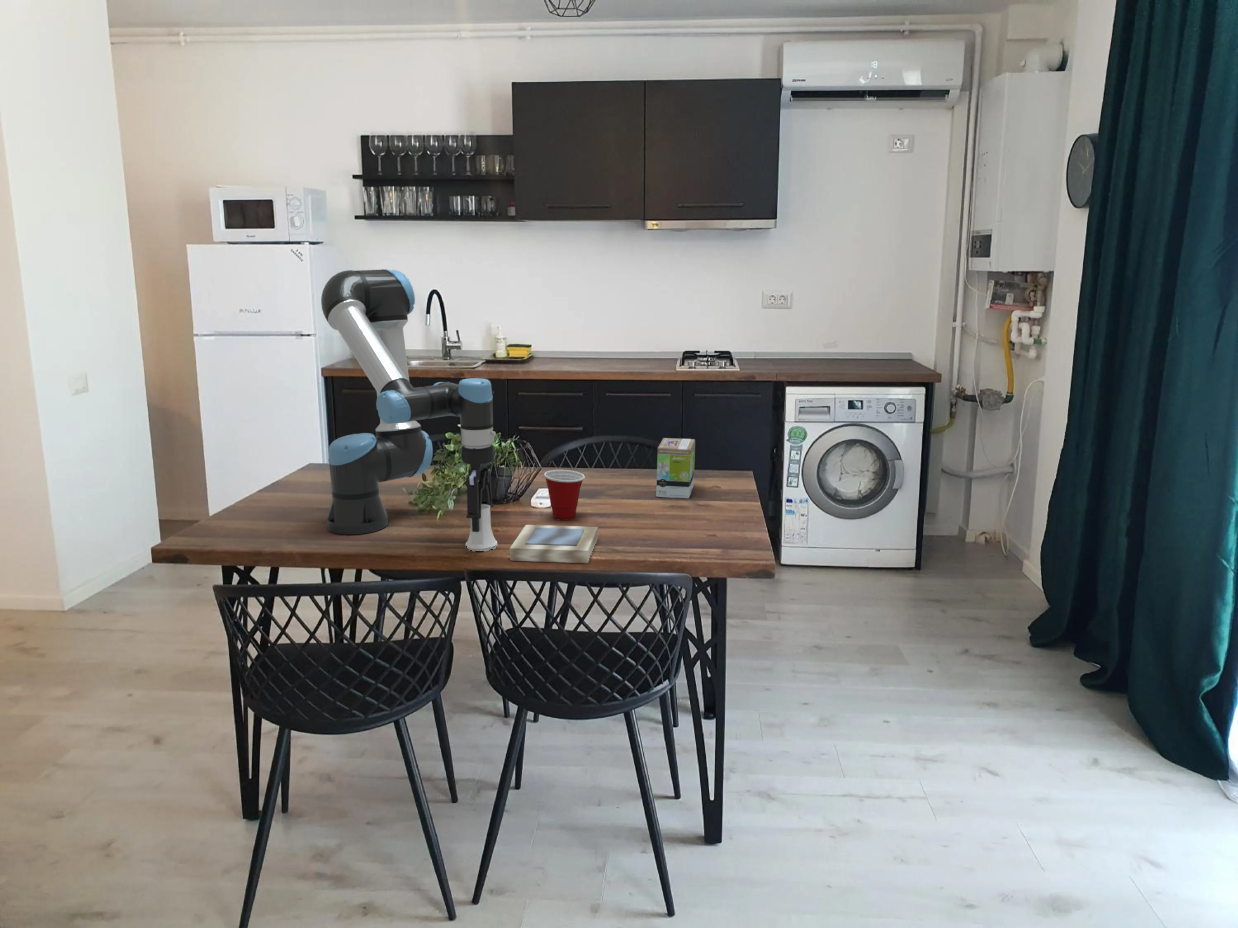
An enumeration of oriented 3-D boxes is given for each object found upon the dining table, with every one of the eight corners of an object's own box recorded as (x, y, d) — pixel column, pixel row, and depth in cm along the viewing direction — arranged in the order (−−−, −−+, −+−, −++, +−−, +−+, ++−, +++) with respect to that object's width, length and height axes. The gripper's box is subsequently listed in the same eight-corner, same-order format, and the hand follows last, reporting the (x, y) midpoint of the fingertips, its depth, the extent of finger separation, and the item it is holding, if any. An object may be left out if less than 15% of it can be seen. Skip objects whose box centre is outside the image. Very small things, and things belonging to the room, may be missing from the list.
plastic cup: (580, 524, 235) (579, 479, 233) (539, 522, 237) (538, 477, 235) (589, 512, 246) (589, 469, 243) (551, 510, 248) (550, 467, 245)
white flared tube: (503, 546, 218) (502, 506, 216) (479, 554, 213) (477, 513, 211) (483, 539, 223) (482, 500, 221) (459, 547, 218) (457, 507, 216)
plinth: (510, 560, 208) (509, 546, 208) (526, 536, 226) (525, 523, 225) (587, 563, 207) (587, 549, 206) (598, 538, 224) (597, 525, 223)
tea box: (690, 499, 259) (691, 448, 255) (655, 497, 260) (655, 447, 257) (694, 485, 273) (695, 437, 270) (661, 484, 275) (661, 436, 271)
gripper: (482, 454, 202) (486, 552, 208) (503, 436, 221) (506, 526, 227) (449, 454, 203) (454, 551, 208) (473, 436, 222) (476, 526, 228)
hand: (481, 538), depth 218 cm, fingers open, 7 cm apart
